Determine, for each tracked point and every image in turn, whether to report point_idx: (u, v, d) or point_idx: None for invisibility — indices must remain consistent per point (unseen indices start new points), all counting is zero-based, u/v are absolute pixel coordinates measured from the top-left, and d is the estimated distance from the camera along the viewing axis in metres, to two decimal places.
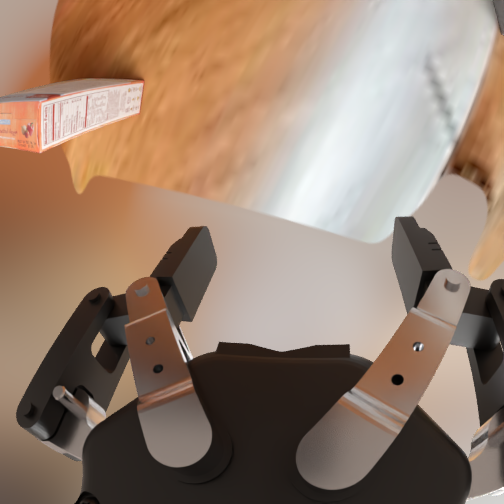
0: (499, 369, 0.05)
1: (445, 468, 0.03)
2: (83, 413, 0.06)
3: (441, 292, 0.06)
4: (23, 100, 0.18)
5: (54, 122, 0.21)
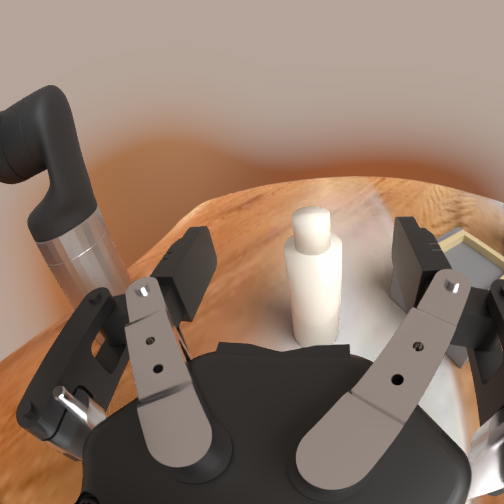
0: (499, 369, 0.05)
1: (445, 468, 0.03)
2: (83, 413, 0.06)
3: (441, 292, 0.06)
4: None
5: None
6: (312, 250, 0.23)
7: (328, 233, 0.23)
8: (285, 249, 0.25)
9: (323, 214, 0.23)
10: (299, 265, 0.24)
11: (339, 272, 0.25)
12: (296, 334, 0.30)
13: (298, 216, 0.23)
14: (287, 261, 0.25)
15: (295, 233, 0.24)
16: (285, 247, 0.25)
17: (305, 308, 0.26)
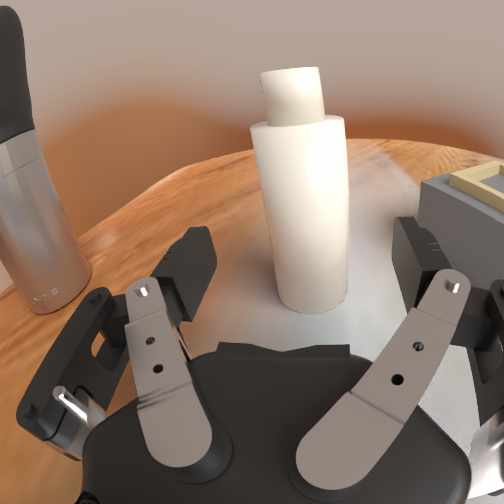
0: (499, 369, 0.05)
1: (445, 468, 0.03)
2: (83, 413, 0.06)
3: (441, 292, 0.06)
4: None
5: None
6: (294, 116, 0.13)
7: (319, 92, 0.13)
8: (252, 127, 0.15)
9: None
10: (272, 140, 0.13)
11: (344, 163, 0.14)
12: (280, 288, 0.20)
13: None
14: (255, 143, 0.14)
15: (265, 95, 0.13)
16: (252, 126, 0.15)
17: (290, 230, 0.16)
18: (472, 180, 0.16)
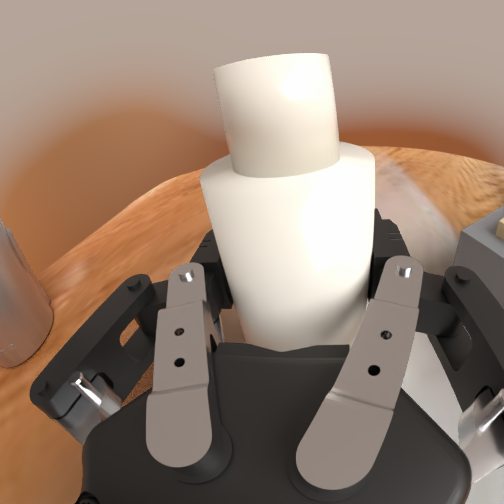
0: (470, 354, 0.05)
1: (441, 465, 0.03)
2: (97, 402, 0.06)
3: (390, 276, 0.07)
4: None
5: None
6: (278, 158, 0.07)
7: (330, 106, 0.06)
8: (204, 173, 0.08)
9: None
10: (233, 211, 0.07)
11: (369, 242, 0.08)
12: None
13: None
14: (207, 206, 0.08)
15: (223, 112, 0.07)
16: (206, 170, 0.09)
17: (271, 347, 0.09)
18: None
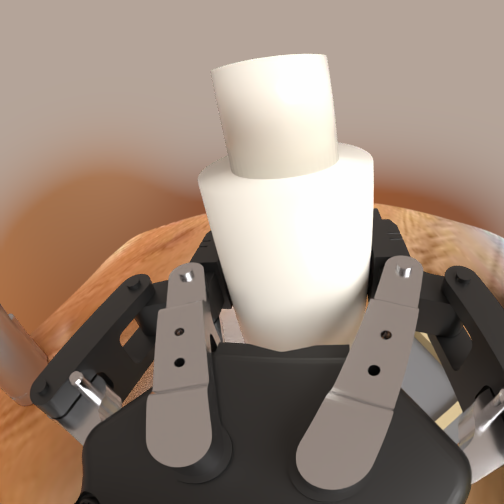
0: (470, 354, 0.05)
1: (441, 466, 0.03)
2: (97, 402, 0.06)
3: (390, 276, 0.07)
4: None
5: None
6: (276, 159, 0.07)
7: (328, 107, 0.06)
8: (202, 175, 0.08)
9: None
10: (231, 213, 0.07)
11: (368, 243, 0.08)
12: None
13: None
14: (205, 208, 0.08)
15: (221, 113, 0.07)
16: (205, 171, 0.09)
17: (270, 348, 0.09)
18: None
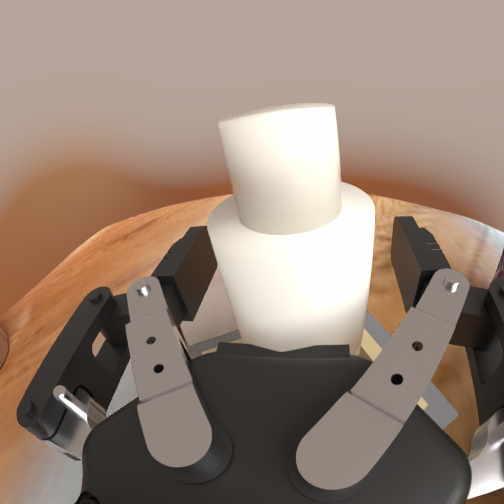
0: (498, 369, 0.05)
1: (445, 468, 0.03)
2: (83, 413, 0.06)
3: (440, 291, 0.06)
4: None
5: None
6: (283, 217, 0.07)
7: (334, 163, 0.07)
8: (211, 221, 0.09)
9: (315, 107, 0.07)
10: (241, 268, 0.07)
11: (366, 286, 0.08)
12: None
13: (238, 116, 0.07)
14: (215, 255, 0.09)
15: (229, 166, 0.07)
16: (213, 216, 0.09)
17: None
18: None
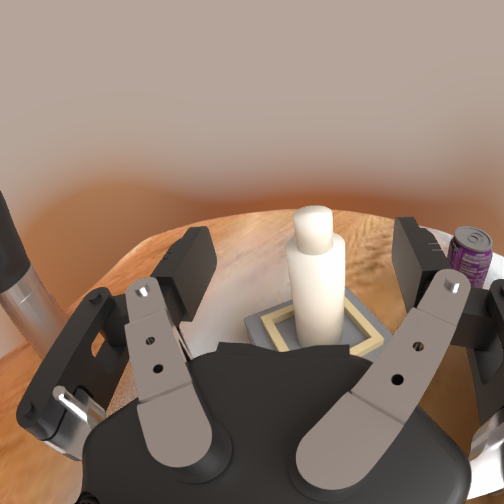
0: (499, 369, 0.05)
1: (445, 468, 0.03)
2: (83, 413, 0.06)
3: (441, 292, 0.06)
4: None
5: None
6: (314, 250, 0.23)
7: (330, 232, 0.23)
8: (287, 250, 0.25)
9: (325, 213, 0.22)
10: (301, 266, 0.23)
11: (342, 273, 0.24)
12: (299, 337, 0.29)
13: (299, 215, 0.23)
14: (289, 262, 0.24)
15: (297, 233, 0.23)
16: (287, 248, 0.25)
17: (308, 311, 0.26)
18: (271, 325, 0.32)
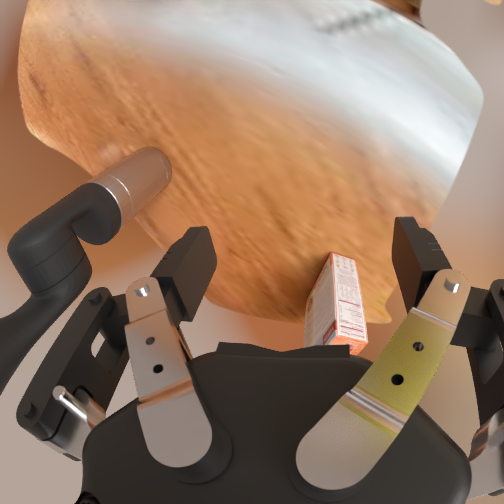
0: (499, 369, 0.05)
1: (445, 468, 0.03)
2: (83, 413, 0.06)
3: (441, 292, 0.06)
4: None
5: (352, 327, 0.39)
6: None
7: None
8: None
9: None
10: None
11: None
12: None
13: None
14: None
15: None
16: None
17: None
18: None
